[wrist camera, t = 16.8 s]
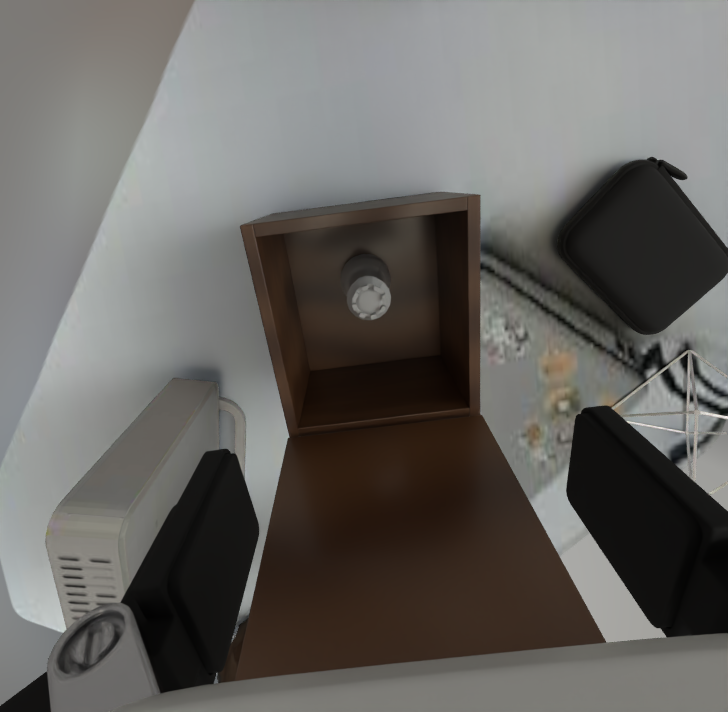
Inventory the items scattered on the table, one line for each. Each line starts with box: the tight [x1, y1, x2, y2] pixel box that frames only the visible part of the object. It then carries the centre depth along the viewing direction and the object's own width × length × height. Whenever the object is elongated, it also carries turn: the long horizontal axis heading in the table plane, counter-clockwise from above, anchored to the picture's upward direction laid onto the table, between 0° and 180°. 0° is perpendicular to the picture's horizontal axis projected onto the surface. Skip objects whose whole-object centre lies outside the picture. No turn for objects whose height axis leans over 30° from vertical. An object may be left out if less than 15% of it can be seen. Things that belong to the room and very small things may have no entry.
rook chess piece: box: [341, 254, 391, 320], centre depth 31 cm, size 4×4×8 cm
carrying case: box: [557, 157, 728, 335], centre depth 34 cm, size 11×3×15 cm
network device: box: [45, 378, 246, 629], centre depth 35 cm, size 26×9×20 cm, turn 172°
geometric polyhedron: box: [612, 350, 728, 495], centre depth 38 cm, size 12×11×9 cm
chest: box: [240, 192, 480, 438], centre depth 32 cm, size 16×15×11 cm
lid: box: [235, 415, 606, 681], centre depth 23 cm, size 16×15×6 cm
